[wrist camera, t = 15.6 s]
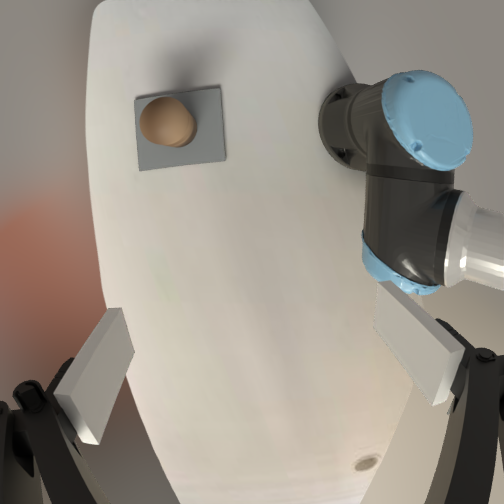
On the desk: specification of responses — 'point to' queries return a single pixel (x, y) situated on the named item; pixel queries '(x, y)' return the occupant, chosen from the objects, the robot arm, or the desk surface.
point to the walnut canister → (167, 123)
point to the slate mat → (203, 145)
